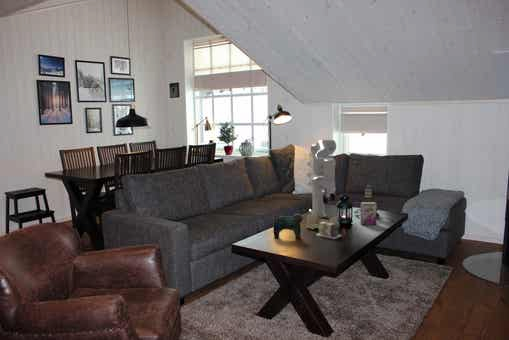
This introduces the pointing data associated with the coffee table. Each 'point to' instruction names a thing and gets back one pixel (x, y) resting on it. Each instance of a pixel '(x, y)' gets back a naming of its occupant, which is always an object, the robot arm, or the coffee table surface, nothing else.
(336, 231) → the block
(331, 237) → the felt pad
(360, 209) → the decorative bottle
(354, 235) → the coffee table surface
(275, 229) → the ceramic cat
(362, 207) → the candy bar box
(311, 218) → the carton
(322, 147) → the robot arm
